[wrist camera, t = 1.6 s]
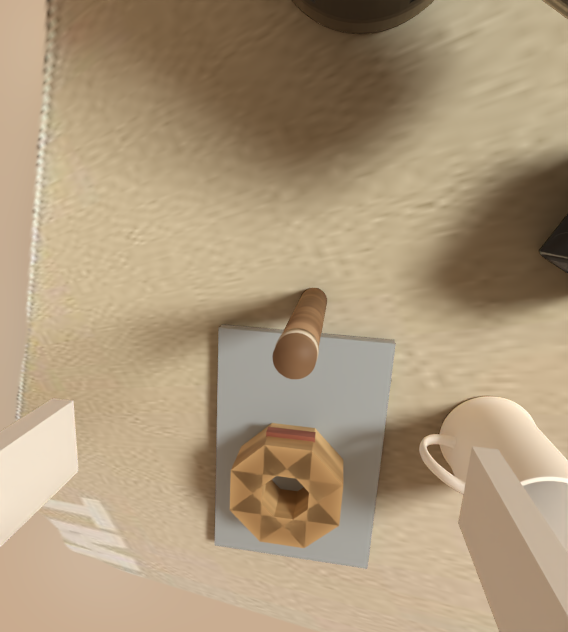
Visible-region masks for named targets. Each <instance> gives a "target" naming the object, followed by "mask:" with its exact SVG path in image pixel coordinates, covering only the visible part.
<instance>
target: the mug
mask: <svg viewBox="0 0 568 632" xmlns="http://www.w3.org/2000/svg"><path fill="white" fill-rule="evenodd" d="M431 444H440V449H441V452H442V454H443V456H444V458H445V460H446V461H447V463H448V464H449V465H450V466H451V469H452V471H453V473H454V475H455V476H454V475H452V474H451V473H449V472H448V471H446V470H445V469H444V468H443V467H441V466H440V465H439V464H438V463H437V462H436V461H435V460H434V459H433V458H432V457H431V455H430V454H429V452H428V450H427V446H428V445H431ZM472 446H473V447H482V448H491V449H498V450H499V451H500V453H501V454H502V456H503V457H504V459H505V460H506V462H507V463H508V465H509V466H510V468H511V469H512V471H513V472H514V474H515V475H516V477H517V478H518V480H519V481H520V483H521V484H522V486H523V487H524V489H525V490H526V492H527V493H528V495H529V496H530V498H531V499H532V501H533V502H534V504H535V505H536V507H537V508H538V510H539V511H540V513H541V514H542V516H543V517H544V519H545V520H546V522H547V523H548V525H549V526H550V528H551V529H552V531H553V532H554V534H555V535H556V537H557V538H558V540H559V541H560V543H561V544H562V546H563V547H564V549H565V550H566V552H567V553H568V460H567V459H566V458H565V457H564V456H563V455H562V454H561V453H560V452H559V450H558V449H557V448H556V447H555V446H554V445H553V444H552V443H551V442H550V441H549V439H548V438H547V437H546V436H545V435H544V434H543V433H542V432H541V431H540V430H539V428H538V427H537V426H536V425H535V423H534V421H533V419H532V417H531V416H530V415H529V413H528V412H527V411H526V410H525V409H524V408H523V407H521V406H520V405H518V404H517V403H515V402H513V401H511V400H508V399H505V398H502V397H496V396H483V397H477V398H473V399H470V400H468V401H465V402H463V403H462V404H460V405H458V406H457V407H456V408H454V409H453V410H452V411H451V412H450V413H449V414H448V416H447V417H446V419H445V420H444V422H443V424H442V427H441V430H440V434H432V435H428V436H426V437H424V438H423V440H422V441H421V443H420V447H419V451H420V455H421V458H422V460H423V461H424V463H425V464H426V466H427V467H428V468H429V469H430V470H431V471H432V472H433V473H434V474H435V475H436V476H437V477H438V478H439V479H440V480H442V481H443V482H444V483H445V484H447V485H448V486H450V487H451V488H453V489H454V490H456V491H457V492H459V493H461V494H464V488H465V483H466V477H467V472H468V466H469V460H470V455H471V449H472Z"/></svg>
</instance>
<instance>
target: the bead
mask: <svg viewBox="0 0 568 632" xmlns="http://www.w3.org/2000/svg"><path fill="white" fill-rule="evenodd" d="M276 476H281V477H288V478H296V479H297V480H298V481H299V482H300V483H301V484H302V486H303V488H302V489H300V490H299V491H292V490H285V489H280V488H279V487H278V486H277V485H276V484H275V483H274V482H273V480H272V479H273V478H274V477H276ZM342 494H343V458H342V457H341V456H340V455H339V454H338V453H337V452H336V451H335V449H334V448H333V447H332V446H331V445H330V444H329V443H328V442H327V441H326V440H325V438H324V437H323V436H322V435H321V434H320V433H319V432H318V431H317V430H316V428H311V427H303V426H294V425H286V424H277V423H271V424H270V425H269V426H267V427H266V428H265V429H263V430H262V431H261V432H259V433H258V434H257V435H256V436H254V437H253V438H252V439H250V440H249V441H248V442H246V443H245V444H244V445H242V446H241V448H240V450H239V453H238V455H237V457H236V459H235V462H234V464H233V466H232V469H231V480H230V511H231V512H232V513H233V514H234V515H235V516H236V517H237V518H238V519H239V520H240V521H241V522H242V523H243V525H244V526H245V527H246V528H247V529H248V530H249V531H250V532H251V533H252V534H253V535H254V536H255V537H256V538H257V539H258V540H259V541H260V542H266V543H273V544H279V545H286V546H292V547H299V548H305V547H307V546H309V545H310V544H312V543H313V542H315V541H316V540H318V539H319V538H321V537H322V536H324V535H326V534H327V533H329V532H330V531H332V530H333V529H335V528H336V527H338V526H339V523H340V513H341V503H342Z"/></svg>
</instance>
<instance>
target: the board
mask: <svg viewBox="0 0 568 632" xmlns="http://www.w3.org/2000/svg"><path fill="white" fill-rule="evenodd" d="M283 331H284V330H279V329H268V328H256V327H245V326H234V325H223V324H222V325H221V326H220V327H219V337H218V392H217V446H216V501H215V545H216V546H222V547H229V548H235V549H242V550H248V551H255V552H261V553H268V554H274V555H281V556H287V557H294V558H300V559H307V560H313V561H320V562H326V563H333V564H339V565H346V566H352V567H358V568H365V569H367V568H368V560H369V552H370V544H371V536H372V528H373V520H374V512H375V504H376V496H377V488H378V480H379V472H380V464H381V456H382V448H383V440H384V432H385V424H386V416H387V408H388V400H389V392H390V384H391V376H392V368H393V360H394V352H395V341H394V340H389V339H378V338H367V337H356V336H345V335H334V334H323V333H321V338H320V343H319V354H318V359H317V362H316V365H315V367H314V369H313V371H312V372H311V373H310V374H309V375H308V376H306V377H304V378H302V379H289V378H286V377H284V376H282V375H281V374H280V373H279V372H278V371H277V370H276V368H275V367H274V364H273V358H272V356H273V351H274V349H275V345H276V343H277V341H278V339H279V337H280V336H281V335H282V333H283ZM271 423H277V424H286V425H294V426H303V427H311V428H316V430H317V431H318V432H319V433H320V434H321V435H322V436H323V437H324V438H325V440H326V441H327V442H328V443H329V444H330V445H331V446H332V447H333V448H334V449H335V451H336V452H337V453H338V454H339V455H340V456H341V457H342V458H343V494H342V503H341V513H340V523H339V526H338V527H336V528H335V529H333V530H332V531H330V532H329V533H327V534H326V535H324V536H322V537H321V538H319V539H318V540H316V541H315V542H313V543H312V544H310V545H309V546H307V547H305V548H299V547H292V546H286V545H279V544H273V543H266V542H260V541H259V540H258V539H257V538H256V537H255V536H254V535H253V534H252V533H251V532H250V531H249V530H248V529H247V528H246V527H245V526H244V525H243V523H242V522H241V521H240V520H239V519H238V518H237V517H236V516H235V515H234V514H233V513H232V512H231V511H230V480H231V469H232V466H233V464H234V462H235V459H236V457H237V455H238V453H239V450H240V448H241V446H242V445H244V444H245V443H246V442H248V441H249V440H250V439H252V438H253V437H254V436H256V435H257V434H258V433H259V432H261V431H262V430H263V429H265V428H266V427H267V426H269V425H270V424H271ZM272 480H273V482H274V483H275V484H276V485H277V486H278V487H279V488H280V489H285V490H292V491H299V490H300V489H302V488H303V486H302V484H301V483H300V482H299V481H298V480H297V479H296V478H288V477H281V476H276V477H274V478H273V479H272Z"/></svg>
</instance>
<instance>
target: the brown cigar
mask: <svg viewBox="0 0 568 632" xmlns="http://www.w3.org/2000/svg"><path fill="white" fill-rule="evenodd" d="M326 304H327V298H326V295H325V293H324V292H323V291H322V290H320V289H318V288H309V289H307V290H306V291H304V293H303V294H302V296H301V298H300V300H299V302H298V304H297V306H296V308H295V310H294V312H293V313H292V315H291V317H290V319H289V321H288V323H287V325H286V327H285V329H284V331H283V333H282V335H281V336H280V337H279V339H278V341H277V343H276V345H275V349H274V351H273V356H272V358H273V364H274V367H275V368H276V370H277V371H278V372H279V373H280V374H281V375H282V376H284V377H286V378H289V379H302V378H304V377H306V376H308V375H309V374H310V373H311V372H312V371H313V369H314V367H315V365H316V362H317V359H318V354H319V343H320V338H321V332H322V327H323V321H324V316H325V310H326Z"/></svg>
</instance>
